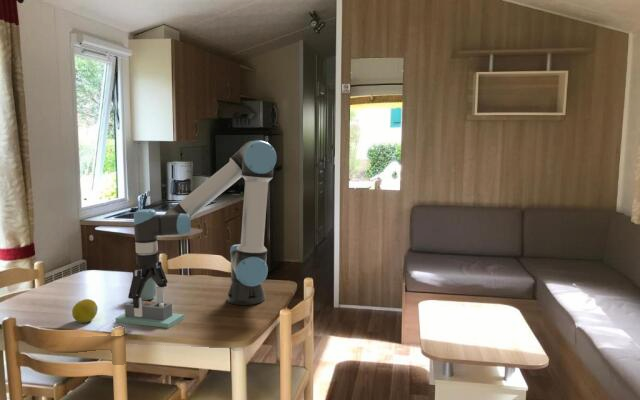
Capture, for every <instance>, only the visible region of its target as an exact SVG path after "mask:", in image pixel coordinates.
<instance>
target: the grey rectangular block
mask: <svg viewBox="0 0 640 400" xmlns="http://www.w3.org/2000/svg"><path fill="white" fill-rule="evenodd" d="M159 304H161V303H160V302H157V301H150V300H142V317H137V316H134V307H133V300H131V301H129V302H127V303H125V304H124V313H125V317H134V318H143V319H152V320H161V321H164V320H166V319H167V318H169V317H171V316H172V313H173V304H172V303H167V302H164V303H163V304H164V307H159Z"/></svg>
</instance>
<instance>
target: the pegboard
mask: <svg viewBox="0 0 640 400" xmlns="http://www.w3.org/2000/svg"><path fill="white" fill-rule="evenodd" d="M159 307H164V304H163V303H161V304H159ZM184 319H185V314H184V313H176V312H175V313H174V312H172V316H171V317H169V318H167V319H166V320H164V321H161V320H152V319H143V318H134V317H125V312H124V313H122V314H120V315H119V316H117V317H115V323H119V324H120V323H121V324H128V325H129V324H131V325H140V326H147V327H148V326H149V327H155V328H156V327H159V328H166V329H169V328H172V327H173V326H175V325H176V324H177V323H179V322H181V321H183V320H184Z"/></svg>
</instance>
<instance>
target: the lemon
mask: <svg viewBox="0 0 640 400" xmlns="http://www.w3.org/2000/svg"><path fill="white" fill-rule="evenodd" d="M71 313H72V317H73V319H74V320H75V321H76V322H79V323H81V324H84V323H86V324H87V323H89V322H91V321H92V320H93V319H94V318H95V317H96V316H97V314H98V305H97V303H96V302H95V301H94V300H93V299H90V298H87V299H82V300H80V301H78V302H77V303H76V304H75V305H74V306H73V307H72V310H71Z"/></svg>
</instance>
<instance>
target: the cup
mask: <svg viewBox="0 0 640 400" xmlns="http://www.w3.org/2000/svg"><path fill="white" fill-rule="evenodd" d="M141 278H142V277H141ZM156 287H158V285H157V284H156V283H155V281H154V280H153V279H152V278H150V279H148V280H147V282H145V285H144V288H143V290H142V293H141V296H140V298H141V300H142V301H150V300H153V299H154V298H155V297H156V296H157V293H156Z"/></svg>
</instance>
